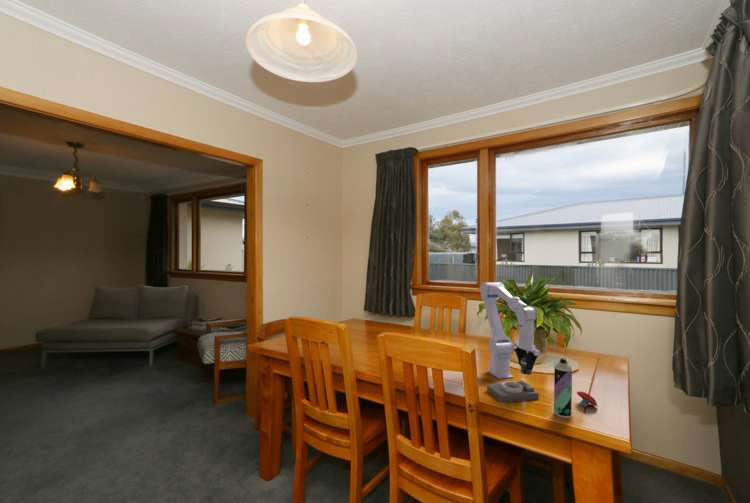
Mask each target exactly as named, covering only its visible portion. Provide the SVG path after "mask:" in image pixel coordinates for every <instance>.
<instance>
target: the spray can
mask: <svg viewBox="0 0 750 503" xmlns="http://www.w3.org/2000/svg"><path fill="white" fill-rule="evenodd" d="M567 361H568V360H567V359H566V358H564V357H561V358H560V360H559V361H558V362H555V363H554V371H553V372H554V375H553V376H554V382H553V384H554V389H553V406H554V407H553V413H554V415H555V416H557V417H559V418H562V419H571V418H572V416H573V415H572V409H573V408H572V407H573V406H572V404H573V403H572V402H573V397H572V396H573V392H572V391H573V368H572V365H570V364H569V362H567Z"/></svg>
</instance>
